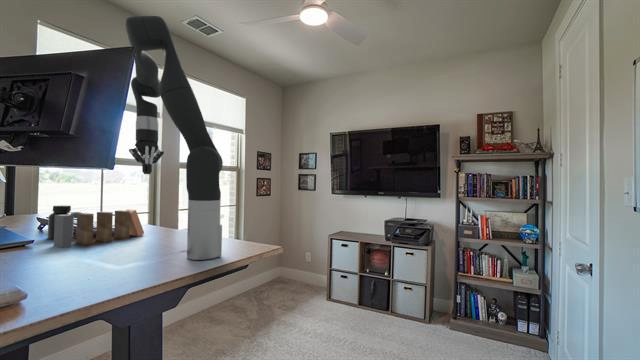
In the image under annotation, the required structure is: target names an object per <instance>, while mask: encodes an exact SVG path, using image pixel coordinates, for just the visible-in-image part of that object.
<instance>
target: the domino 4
mask: <svg viewBox="0 0 640 360" xmlns="http://www.w3.org/2000/svg"><path fill="white" fill-rule="evenodd" d="M124 211H130V225H129V236H131V237H132V236H133V237H140V236H142V235H145V232H144V229H143V225H142V224H141V221H140V218H139V215H138V212H137V210H136V209H125V210H124Z"/></svg>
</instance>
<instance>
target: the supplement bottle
mask: <svg viewBox="0 0 640 360" xmlns="http://www.w3.org/2000/svg"><path fill="white" fill-rule="evenodd" d="M71 211H72V205H53V206H52V213H51V214H49V216H48V220H47V240H51V241H54V224H55V215H72V238H74V226H75V225H74V222H75V215H74V214H73V213H71Z"/></svg>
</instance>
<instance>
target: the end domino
mask: <svg viewBox="0 0 640 360" xmlns="http://www.w3.org/2000/svg"><path fill="white" fill-rule="evenodd" d="M72 239H73V237H72V215H55V224H54V240H53V247H56V248H60V249H65V248H71V247H72Z"/></svg>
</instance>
